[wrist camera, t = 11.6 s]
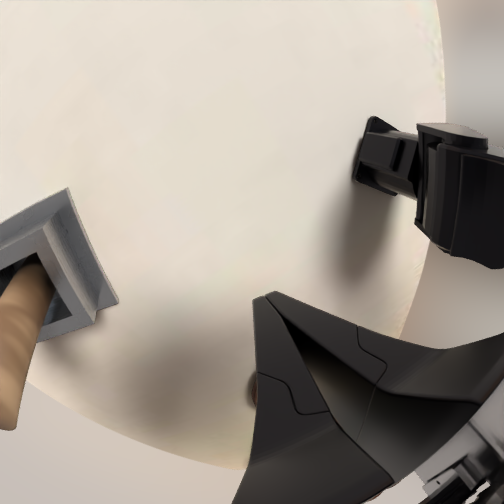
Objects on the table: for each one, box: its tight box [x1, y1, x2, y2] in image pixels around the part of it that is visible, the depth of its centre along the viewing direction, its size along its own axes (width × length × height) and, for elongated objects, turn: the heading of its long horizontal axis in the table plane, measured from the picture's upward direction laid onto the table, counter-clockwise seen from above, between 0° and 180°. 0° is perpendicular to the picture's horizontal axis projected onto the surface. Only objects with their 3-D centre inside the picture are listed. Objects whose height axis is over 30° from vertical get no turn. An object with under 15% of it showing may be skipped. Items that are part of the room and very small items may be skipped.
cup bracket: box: [0, 187, 118, 343], centre depth 16 cm, size 10×10×4 cm
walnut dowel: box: [0, 252, 56, 431], centre depth 12 cm, size 4×4×13 cm
